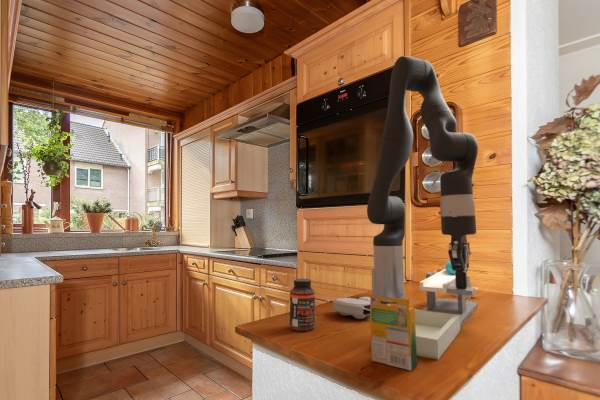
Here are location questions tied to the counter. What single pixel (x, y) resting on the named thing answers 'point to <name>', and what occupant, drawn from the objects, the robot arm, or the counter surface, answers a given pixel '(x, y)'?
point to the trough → (444, 284)
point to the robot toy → (353, 306)
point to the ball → (449, 268)
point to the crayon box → (393, 333)
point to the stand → (450, 305)
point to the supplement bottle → (302, 306)
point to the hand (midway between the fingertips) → (461, 288)
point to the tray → (435, 332)
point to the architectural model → (468, 287)
